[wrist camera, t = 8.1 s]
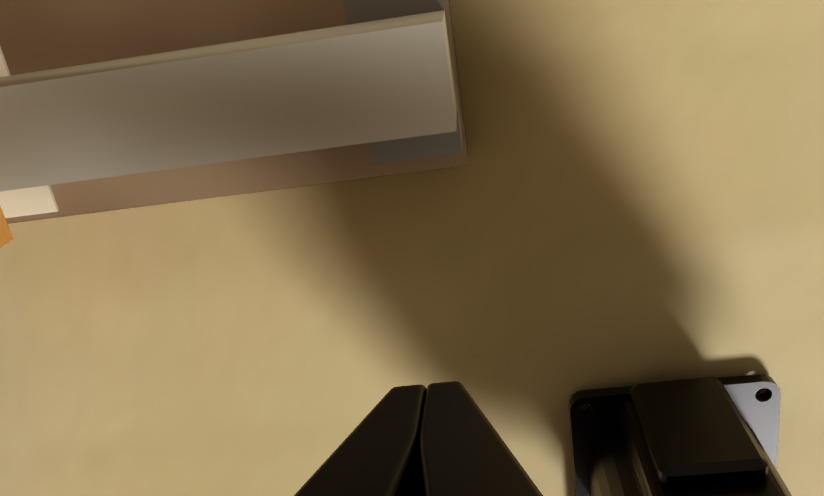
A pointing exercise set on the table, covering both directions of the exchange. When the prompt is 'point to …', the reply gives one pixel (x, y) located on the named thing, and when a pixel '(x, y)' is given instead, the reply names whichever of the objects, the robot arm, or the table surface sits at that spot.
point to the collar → (4, 230)
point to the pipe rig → (218, 98)
